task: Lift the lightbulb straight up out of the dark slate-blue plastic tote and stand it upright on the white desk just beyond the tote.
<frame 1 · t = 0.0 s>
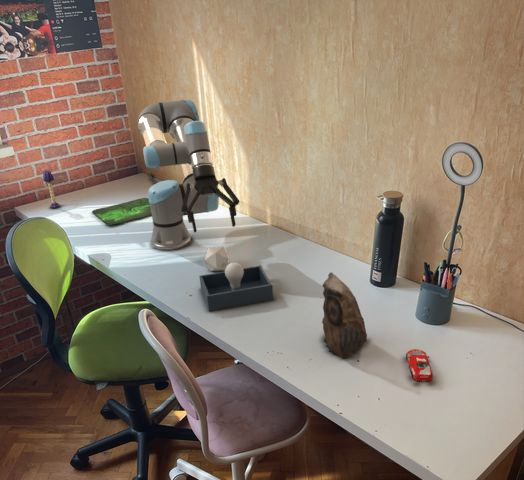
hand: (214, 228, 195), 15 cm above the table, tool tilted 35°, fingers open, 13 cm apart
owl: (345, 345, 161), on the table
race car: (418, 370, 150), on the table
lightbulb: (236, 294, 187), resting on tote
die: (218, 269, 203), on the table
tote: (236, 294, 187), on the table
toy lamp: (56, 207, 262), on the table
mouse mat: (128, 212, 252), on the table
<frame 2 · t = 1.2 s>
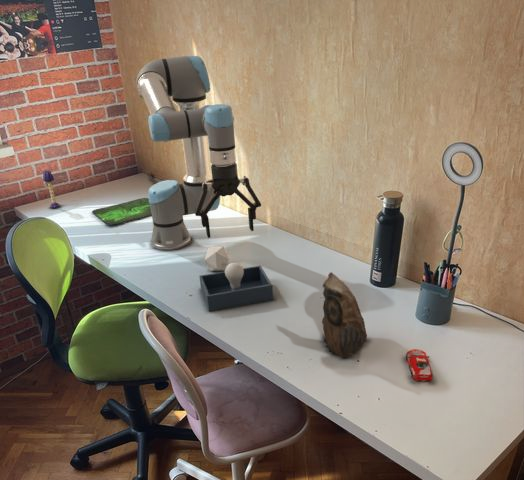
hand: (230, 232, 175), 22 cm above the table, tool pointing down, fingers open, 13 cm apart
nothing on the table moved.
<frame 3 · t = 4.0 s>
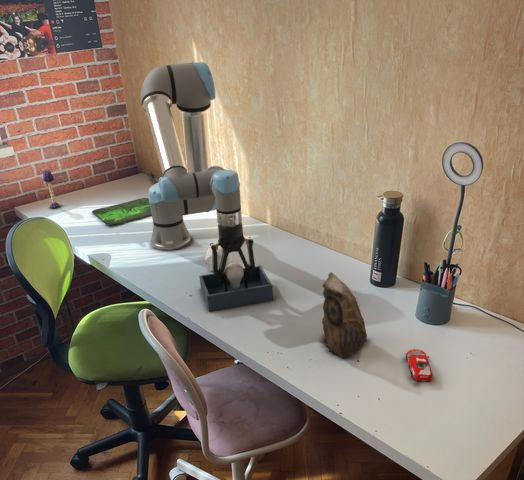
hand: (235, 289, 186), 2 cm above the table, tool pointing down, fingers closed on lightbulb, 6 cm apart
lightbulb: (236, 294, 187), resting on tote, touching gripper
everything else where it was.
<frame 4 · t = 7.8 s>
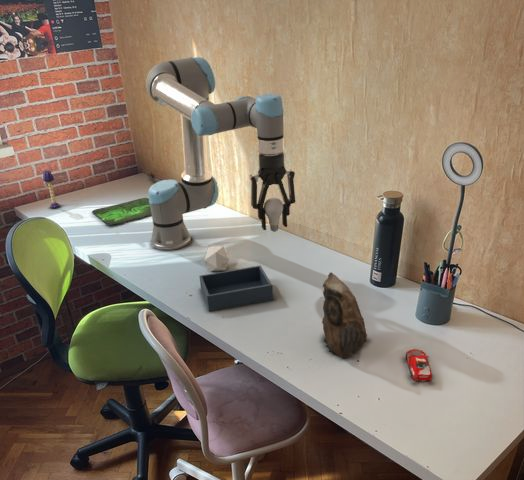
hand: (274, 226, 179), 21 cm above the table, tool pointing down, fingers closed on lightbulb, 6 cm apart
lightbulb: (274, 232, 180), point 19 cm above the table, touching gripper
everything else where it was.
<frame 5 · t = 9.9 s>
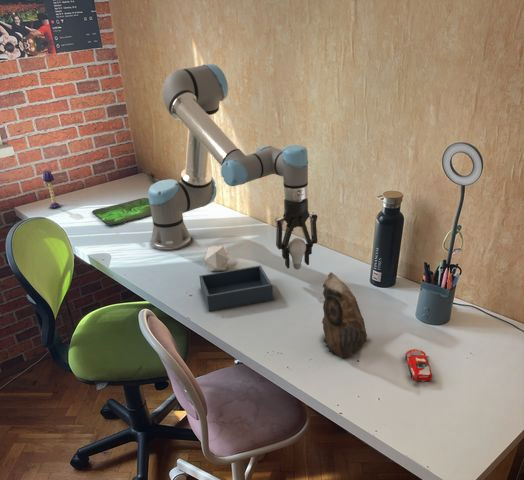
hand: (297, 264, 190), 6 cm above the table, tool pointing down, fingers closed on lightbulb, 6 cm apart
lightbulb: (297, 269, 191), point 4 cm above the table, touching gripper
everything else where it was.
when the fingers open (2 cm above the table, at t = 11.5 s): lightbulb stays where it is, on the table.
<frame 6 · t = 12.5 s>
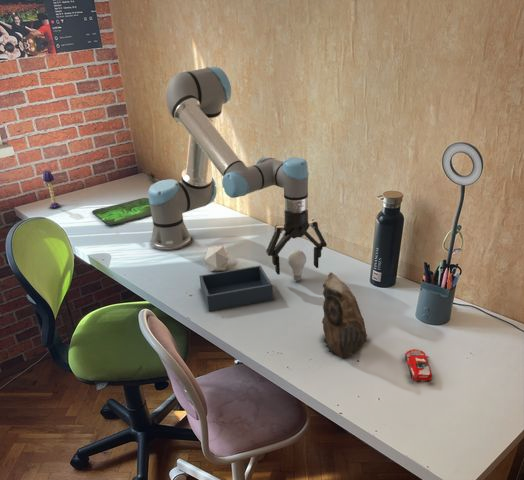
hand: (296, 269, 191), 4 cm above the table, tool pointing down, fingers open, 13 cm apart
lightbulb: (297, 281, 193), on the table
everything else where it was.
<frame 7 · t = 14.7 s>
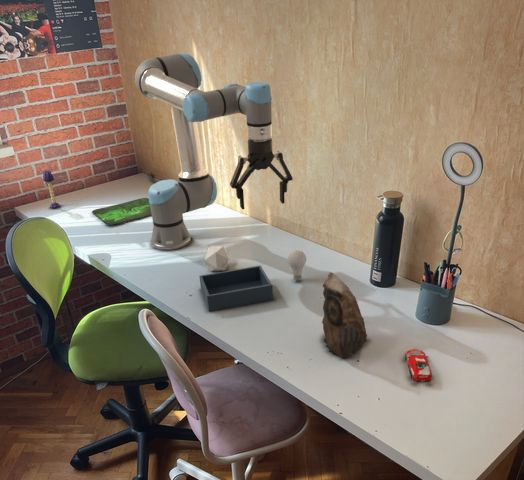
hand: (262, 205, 186), 24 cm above the table, tool pointing down, fingers open, 13 cm apart
nothing on the table moved.
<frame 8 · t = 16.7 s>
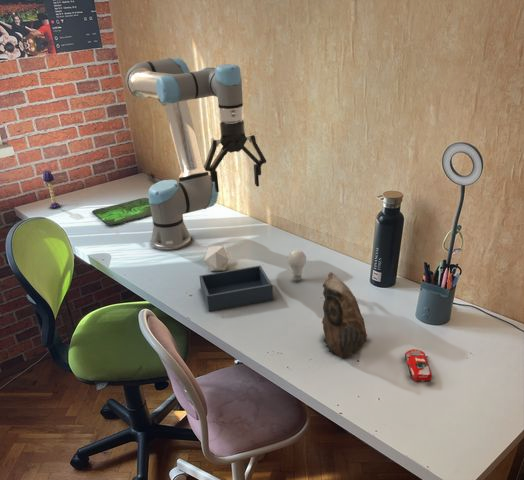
hand: (237, 188, 187), 29 cm above the table, tool pointing down, fingers open, 13 cm apart
nothing on the table moved.
at the end: lightbulb inside the target area (0.1 cm from its centre), on the table; the gripper is holding nothing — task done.
